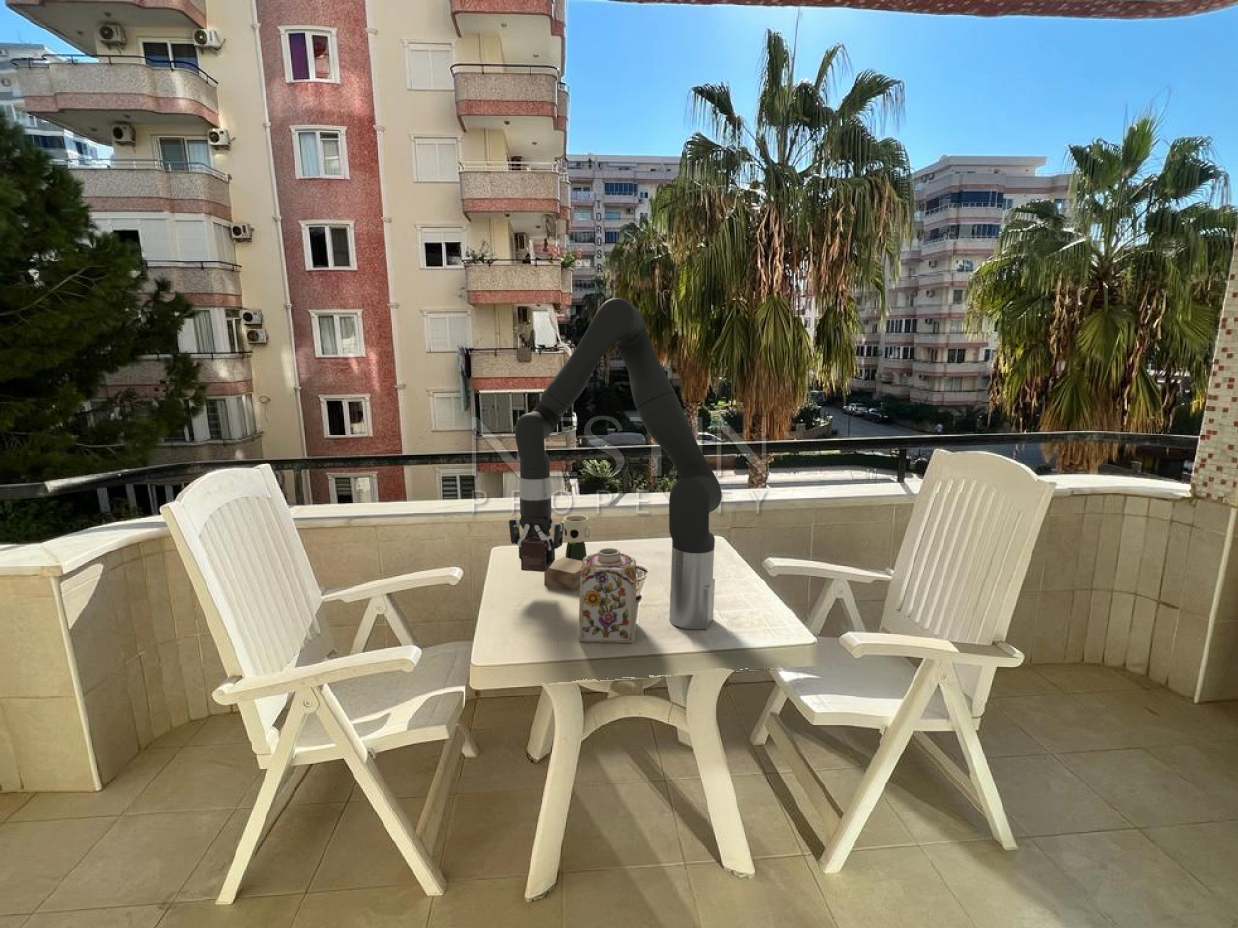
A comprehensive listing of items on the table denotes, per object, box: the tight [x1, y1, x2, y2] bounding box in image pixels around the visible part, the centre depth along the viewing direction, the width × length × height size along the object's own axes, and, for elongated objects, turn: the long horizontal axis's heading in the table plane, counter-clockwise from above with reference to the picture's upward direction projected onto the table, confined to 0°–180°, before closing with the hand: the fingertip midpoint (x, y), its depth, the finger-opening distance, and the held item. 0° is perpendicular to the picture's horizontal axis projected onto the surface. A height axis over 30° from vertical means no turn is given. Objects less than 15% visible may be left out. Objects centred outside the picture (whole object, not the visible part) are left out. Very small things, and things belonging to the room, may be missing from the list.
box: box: [520, 537, 552, 573], centre depth 144 cm, size 6×6×7 cm
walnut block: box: [543, 556, 582, 592], centre depth 154 cm, size 9×9×5 cm
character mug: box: [561, 514, 593, 561], centre depth 169 cm, size 11×7×13 cm, turn 55°
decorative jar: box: [578, 547, 637, 644], centre depth 126 cm, size 12×12×18 cm
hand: (536, 562), depth 145 cm, fingers closed on box, 6 cm apart
